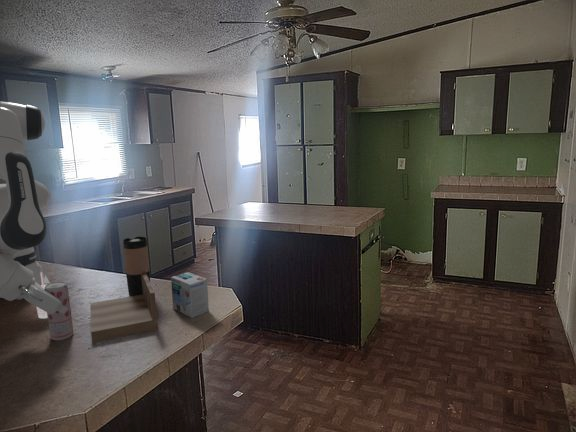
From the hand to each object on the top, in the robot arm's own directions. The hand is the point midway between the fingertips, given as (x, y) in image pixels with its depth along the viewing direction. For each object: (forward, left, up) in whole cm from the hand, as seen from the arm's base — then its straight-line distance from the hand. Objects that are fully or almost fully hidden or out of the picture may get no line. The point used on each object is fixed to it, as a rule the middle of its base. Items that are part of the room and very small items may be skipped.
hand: (61, 307), depth 115 cm
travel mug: (-22, +22, -9) cm, 32 cm away
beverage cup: (-18, -6, -9) cm, 21 cm away
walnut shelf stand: (-3, +15, -8) cm, 18 cm away
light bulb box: (-1, +35, -9) cm, 36 cm away
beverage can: (0, -1, -9) cm, 9 cm away
